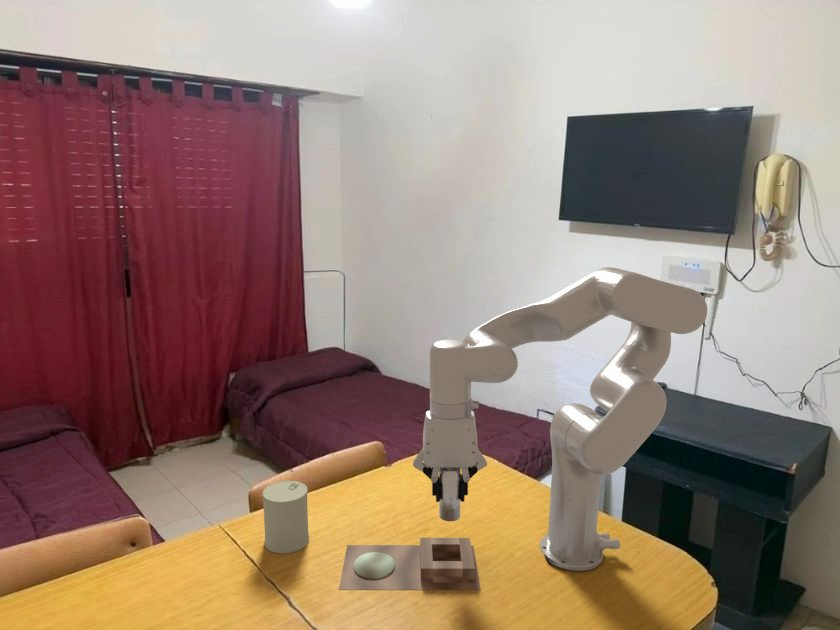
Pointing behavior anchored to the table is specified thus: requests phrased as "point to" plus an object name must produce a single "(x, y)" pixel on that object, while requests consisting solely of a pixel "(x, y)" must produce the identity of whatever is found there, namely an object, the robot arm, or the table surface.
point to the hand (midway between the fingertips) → (449, 497)
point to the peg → (449, 493)
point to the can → (285, 516)
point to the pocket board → (411, 566)
